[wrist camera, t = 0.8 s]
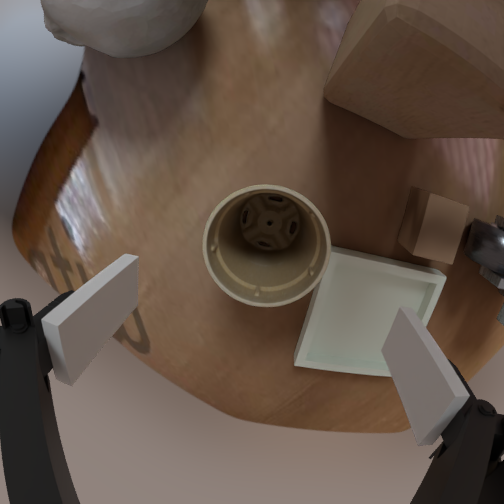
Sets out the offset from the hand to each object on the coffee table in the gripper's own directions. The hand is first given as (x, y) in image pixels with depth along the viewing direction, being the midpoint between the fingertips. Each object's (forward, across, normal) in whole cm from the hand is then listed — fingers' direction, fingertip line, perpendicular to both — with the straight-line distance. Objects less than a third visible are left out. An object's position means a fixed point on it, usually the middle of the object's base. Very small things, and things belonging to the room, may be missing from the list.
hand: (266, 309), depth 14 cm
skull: (+17, -18, +21) cm, 33 cm away
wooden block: (+17, +8, +17) cm, 25 cm away
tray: (+17, +12, -8) cm, 22 cm away
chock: (+17, +16, +4) cm, 23 cm away
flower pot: (+17, 0, 0) cm, 17 cm away
